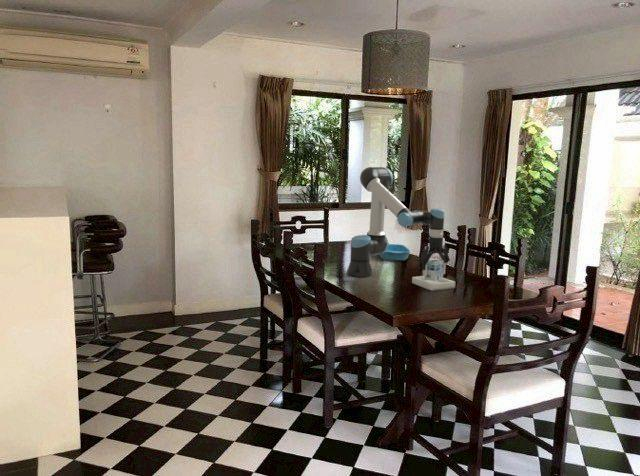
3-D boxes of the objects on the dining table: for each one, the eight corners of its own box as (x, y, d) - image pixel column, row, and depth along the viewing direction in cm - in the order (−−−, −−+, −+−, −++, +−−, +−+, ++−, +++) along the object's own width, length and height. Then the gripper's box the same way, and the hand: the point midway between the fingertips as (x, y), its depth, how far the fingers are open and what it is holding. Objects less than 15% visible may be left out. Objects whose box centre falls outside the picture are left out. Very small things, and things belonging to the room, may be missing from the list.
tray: (431, 290, 273) (432, 284, 272) (412, 283, 289) (412, 277, 288) (455, 288, 280) (455, 282, 279) (434, 280, 296) (434, 274, 295)
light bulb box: (435, 281, 277) (436, 262, 276) (423, 279, 281) (425, 260, 280) (443, 278, 286) (444, 259, 284) (432, 276, 290) (433, 257, 288)
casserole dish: (372, 252, 382) (373, 242, 380) (401, 252, 383) (402, 243, 381) (380, 262, 345) (380, 252, 344) (412, 262, 346) (413, 252, 345)
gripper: (422, 238, 271) (420, 277, 275) (457, 236, 282) (455, 274, 285) (414, 236, 278) (412, 274, 281) (448, 234, 288) (446, 271, 292)
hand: (433, 274), depth 283 cm, fingers closed on light bulb box, 12 cm apart
